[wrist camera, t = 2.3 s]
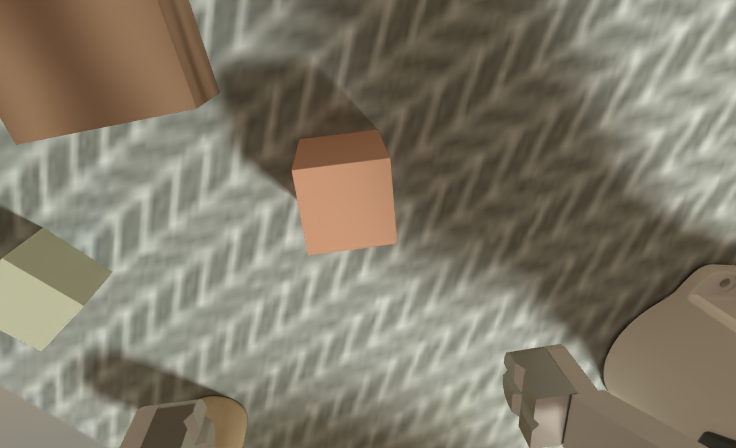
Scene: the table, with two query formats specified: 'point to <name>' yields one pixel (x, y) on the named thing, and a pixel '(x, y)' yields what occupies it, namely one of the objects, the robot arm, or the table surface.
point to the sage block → (45, 287)
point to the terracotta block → (344, 192)
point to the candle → (226, 421)
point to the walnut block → (98, 64)
